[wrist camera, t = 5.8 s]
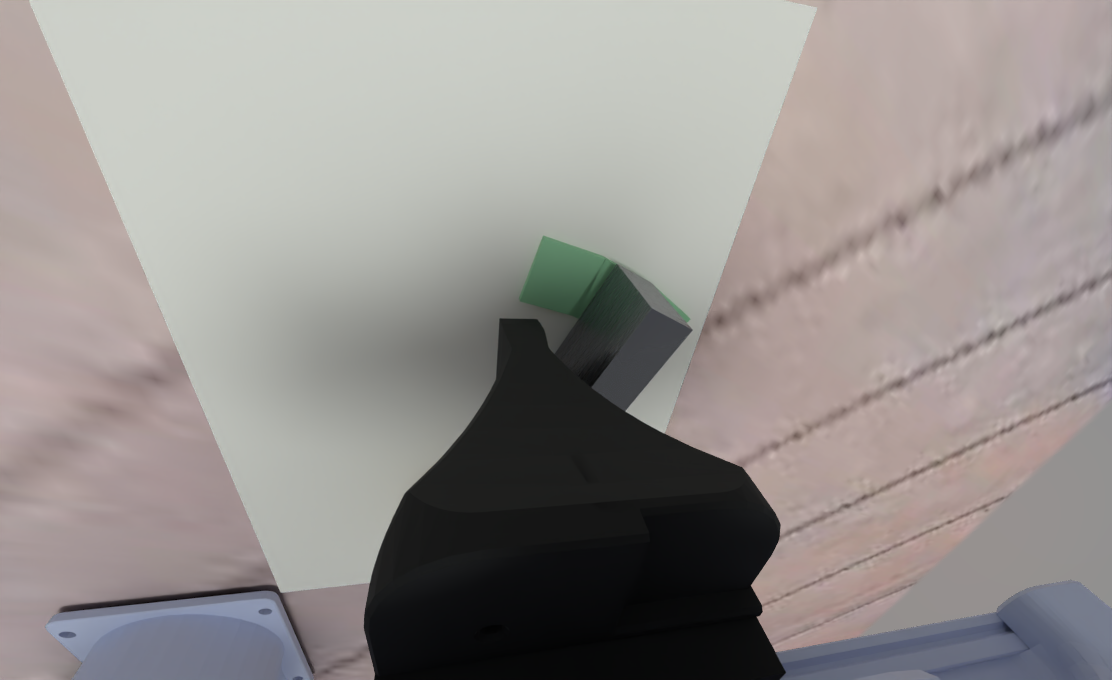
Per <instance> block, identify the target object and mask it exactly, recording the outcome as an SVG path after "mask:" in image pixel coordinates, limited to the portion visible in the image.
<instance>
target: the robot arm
mask: <svg viewBox="0 0 1112 680" xmlns="http://www.w3.org/2000/svg"><path fill="white" fill-rule="evenodd" d="M780 525H781V524H780V522H779V520H778V518H777V516H776V514H775V512H774V511H773V509H772V508H771V506H770V505H769V504H768V502H767V501H766V499H765V498H764V497H763V495H762V494H761V492H760V491H759V489H758V488H757V487H756V485H755V484H754V482H753V481H752V480H751V478H750V477H749V475H748V474H747V473H746V472H745V470H744V469H743V468H742V467H740V466H737V465H735V464H732V463H730V462H728V461H725V460H723V459H720V458H718V457H715V456H713V455H710V454H708V453H705V452H703V451H700V450H698V449H696V448H693V447H691V446H689V445H687V444H685V443H683V442H680V441H678V440H676V439H674V438H672V437H670V436H668V435H666V434H664V433H662V432H660V431H658V430H657V429H655V428H653V427H651V426H649V425H647V424H645V423H644V422H642V421H640V420H639V419H637V418H635V417H634V416H632V415H630V414H629V413H627V412H626V411H624V410H622V409H621V408H619V407H618V406H616V405H615V404H613V403H612V402H610V401H609V400H607V399H606V398H605V397H603V396H602V395H601V394H599V393H598V392H597V391H595V390H594V389H593V388H591V387H590V386H589V385H588V384H586V383H585V382H584V381H583V380H581V379H580V378H579V377H578V376H577V375H576V374H575V373H574V372H572V371H571V370H570V369H569V368H568V367H567V366H566V365H565V364H564V363H563V362H562V361H561V360H560V359H559V358H558V357H557V356H556V355H555V354H554V353H553V352H552V351H551V350H550V349H549V347H548V342H547V338H546V334H545V330H544V328H543V327H542V325H541V323H540V322H539V321H538V320H537V319H510V318H500V319H499V336H498V353H497V370H496V380H495V382H494V384H493V386H492V388H491V390H490V392H489V394H488V395H487V397H486V399H485V400H484V402H483V404H482V405H481V407H480V409H479V410H478V411H477V413H476V414H475V416H474V417H473V419H472V420H471V422H470V423H469V425H468V426H467V427H466V429H465V430H464V431H463V433H462V434H461V435H460V436H459V437H458V438H457V440H456V441H455V442H454V443H453V444H452V446H451V447H450V448H449V449H448V450H447V451H446V453H445V454H444V455H443V456H442V457H441V458H440V459H439V460H438V461H437V462H436V464H434V465H433V466H432V467H431V468H430V469H429V470H428V471H427V472H426V473H425V474H424V475H423V476H422V477H421V478H420V479H419V480H418V481H417V482H416V483H415V484H414V485H413V486H412V487H411V488H410V489H408V490H407V491H406V492H405V494H404V496H403V498H402V500H401V502H400V504H399V506H398V508H397V510H396V512H395V514H394V516H393V518H392V520H391V523H390V525H389V527H388V530H387V532H386V534H385V537H384V539H383V542H382V544H381V547H380V550H379V553H378V556H377V559H376V562H375V565H374V568H373V572H372V576H371V581H370V586H369V592H368V597H367V602H366V608H365V615H364V631H365V635H366V639H367V643H368V647H369V651H370V655H371V659H372V663H373V667H374V671H375V679H374V680H1112V609H1111V608H1110V607H1109V606H1108V605H1106V604H1105V603H1104V602H1103V601H1102V600H1100V599H1099V598H1098V597H1097V596H1096V595H1095V594H1093V593H1092V592H1091V591H1090V590H1089V589H1087V588H1086V587H1085V586H1084V585H1082V584H1081V583H1080V582H1078V581H1073V580H1068V581H1062V582H1056V583H1051V584H1044V585H1039V586H1034V587H1030V588H1027V589H1025V590H1023V591H1020V592H1018V593H1016V594H1015V595H1013V596H1012V597H1010V598H1009V599H1007V600H1006V601H1005V602H1003V603H1002V604H1001V605H1000V606H999V607H998V608H997V612H993V613H988V614H982V615H977V616H971V617H966V618H960V619H955V620H950V621H944V622H939V623H933V624H928V625H922V626H917V627H911V628H906V629H901V630H895V631H890V632H884V633H879V634H874V635H868V636H862V637H857V638H851V639H846V640H841V641H835V642H830V643H824V644H819V645H813V646H808V647H802V648H797V649H792V650H786V651H781V652H775V651H774V649H773V647H772V645H771V643H770V641H769V639H768V638H767V636H766V634H765V632H764V630H763V628H762V626H761V624H760V623H759V621H758V619H757V617H756V616H760V615H761V613H762V612H763V611H762V605H761V603H760V601H759V600H758V598H757V596H756V594H755V592H754V591H753V589H752V587H751V584H752V583H753V581H754V580H755V579H756V577H757V576H758V574H759V573H760V571H761V570H762V568H763V567H764V565H765V564H766V562H767V561H768V559H769V558H770V557H771V555H772V553H773V551H774V549H775V547H776V545H777V543H778V541H779V537H780ZM45 628H46V630H47V631H48V632H49V633H50V634H51V635H52V636H54V637H55V638H56V639H57V640H58V641H59V642H60V643H61V644H62V645H63V646H64V647H65V648H67V649H68V650H69V651H70V652H71V653H72V654H73V655H74V656H75V657H76V658H77V659H78V660H80V661H81V662H82V664H81V666H80V668H79V669H78V671H77V672H76V674H75V675H74V677H73V678H72V680H313V679H314V677H313V674H312V672H311V670H310V667H309V665H308V663H307V660H306V658H305V656H304V653H303V651H302V649H301V647H300V644H299V642H298V640H297V637H296V635H295V633H294V630H293V628H292V626H291V623H290V621H289V619H288V617H287V614H286V612H285V610H284V607H283V605H282V603H281V600H280V598H279V596H278V595H277V594H276V593H275V592H273V591H256V592H247V593H238V594H228V595H219V596H210V597H200V598H191V599H182V600H172V601H163V602H154V603H145V604H135V605H126V606H117V607H107V608H98V609H89V610H79V611H70V612H62V613H58V614H56V615H54V616H52V618H51V619H50V620H49V622H48V623H47V624H46V626H45Z"/></svg>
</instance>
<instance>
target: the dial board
mask: <svg viewBox="0 0 1112 680" xmlns="http://www.w3.org/2000/svg"><path fill="white" fill-rule="evenodd" d="M29 2H30V4H31V7H32V9H33V11H34V14H35V16H36V18H37V21H38V23H39V26H40V28H41V30H42V33H43V35H44V37H45V40H46V42H47V44H48V47H49V49H50V51H51V54H52V56H53V58H54V61H55V63H56V65H57V68H58V70H59V73H60V75H61V77H62V80H63V82H64V84H65V87H66V89H67V91H68V94H69V96H70V98H71V101H72V103H73V105H74V108H75V110H76V113H77V115H78V117H79V120H80V122H81V124H82V127H83V129H84V131H85V134H86V136H87V138H88V141H89V143H90V145H91V148H92V150H93V153H94V155H95V157H96V160H97V162H98V164H99V167H100V169H101V171H102V174H103V176H104V178H105V181H106V183H107V185H108V188H109V190H110V192H111V195H112V197H113V200H114V202H115V204H116V207H117V209H118V211H119V214H120V216H121V218H122V221H123V223H124V225H125V228H126V230H127V232H128V235H129V237H130V240H131V242H132V244H133V247H134V249H135V251H136V254H137V256H138V258H139V261H140V263H141V265H142V268H143V270H144V272H145V275H146V277H147V279H148V282H149V284H150V287H151V289H152V291H153V294H154V296H155V298H156V301H157V303H158V305H159V308H160V310H161V312H162V315H163V317H164V319H165V322H166V324H167V327H168V329H169V331H170V334H171V336H172V338H173V341H174V343H175V345H176V348H177V350H178V352H179V355H180V357H181V359H182V362H183V364H184V367H185V369H186V371H187V374H188V376H189V378H190V381H191V383H192V385H193V388H194V390H195V392H196V395H197V397H198V399H199V402H200V404H201V406H202V409H203V411H204V414H205V416H206V418H207V421H208V423H209V425H210V428H211V430H212V432H213V435H214V437H215V439H216V442H217V444H218V446H219V449H220V451H221V454H222V456H223V458H224V461H225V463H226V465H227V468H228V470H229V472H230V475H231V477H232V479H233V482H234V484H235V486H236V489H237V491H238V493H239V496H240V498H241V501H242V503H243V505H244V508H245V510H246V512H247V515H248V517H249V519H250V522H251V524H252V526H253V529H254V531H255V533H256V536H257V538H258V541H259V543H260V545H261V548H262V550H263V552H264V555H265V557H266V559H267V562H268V564H269V566H270V569H271V571H272V573H273V576H274V578H275V581H276V583H277V585H278V588H279V590H280V592H281V593H284V592H293V591H302V590H311V589H320V588H329V587H338V586H348V585H357V584H366V583H370V581H371V576H372V572H373V568H374V565H375V562H376V559H377V556H378V553H379V550H380V547H381V544H382V542H383V539H384V537H385V534H386V532H387V530H388V527H389V525H390V523H391V520H392V518H393V516H394V514H395V512H396V510H397V508H398V506H399V504H400V502H401V500H402V498H403V496H404V494H405V492H406V491H407V490H408V489H410V488H411V487H412V486H413V485H414V484H415V483H416V482H417V481H418V480H419V479H420V478H421V477H422V476H423V475H424V474H425V473H426V472H427V471H428V470H429V469H430V468H431V467H432V466H433V465H434V464H436V462H437V461H438V460H439V459H440V458H441V457H442V456H443V455H444V454H445V453H446V451H447V450H448V449H449V448H450V447H451V446H452V444H453V443H454V442H455V441H456V440H457V438H458V437H459V436H460V435H461V434H462V433H463V431H464V430H465V429H466V427H467V426H468V425H469V423H470V422H471V420H472V419H473V417H474V416H475V414H476V413H477V411H478V410H479V409H480V407H481V405H482V404H483V402H484V400H485V399H486V397H487V395H488V394H489V392H490V390H491V388H492V386H493V384H494V382H495V380H496V370H497V353H498V336H499V319H500V318H510V319H537V320H538V321H539V322H540V323H541V325H542V327H543V328H544V330H545V334H546V338H547V342H548V347H549V349H550V350H551V351H552V352H553V353H554V354H555V353H556V351H557V350H558V348H559V347H560V345H561V344H562V342H563V341H564V340H565V338H566V337H567V335H568V334H569V332H570V331H571V329H572V328H573V326H574V325H575V324H576V322H577V321H578V319H579V318H580V316H581V315H582V313H583V312H584V310H585V309H586V308H587V306H588V305H589V303H590V302H591V300H592V299H593V297H594V296H595V294H596V293H597V292H598V290H599V289H600V287H601V286H602V284H603V283H604V281H605V280H606V278H607V277H608V276H609V274H610V273H611V271H612V270H613V268H614V267H615V265H616V264H619V265H621V266H622V267H624V268H626V269H628V270H630V271H631V272H633V273H635V274H637V275H638V276H640V277H642V278H644V279H646V280H647V281H649V282H651V283H652V284H653V285H654V286H655V287H656V288H657V289H658V290H659V292H660V293H661V294H662V295H663V296H664V297H665V298H666V300H667V301H668V302H669V303H670V304H671V305H672V307H673V308H674V309H675V310H676V311H677V312H678V313H679V315H680V316H681V317H682V318H683V319H684V320H685V321H686V323H687V324H688V325H689V326H690V327H691V328H692V329H693V331H692V332H691V333H690V334H689V335H688V337H687V338H686V339H685V340H684V341H683V343H682V344H681V345H680V346H679V347H678V348H677V350H676V351H675V352H674V353H673V354H672V356H671V357H670V358H669V359H668V360H667V362H666V363H665V364H664V365H663V366H662V368H661V369H660V370H659V371H658V372H657V374H656V375H655V376H654V377H653V378H652V380H651V381H650V382H649V383H648V384H647V386H646V387H645V388H644V389H643V390H642V392H641V393H640V394H639V395H638V396H637V398H636V399H635V400H634V401H633V402H632V404H631V405H630V406H629V407H628V408H627V410H626V412H627V413H629V414H630V415H632V416H634V417H635V418H637V419H639V420H640V421H642V422H644V423H645V424H647V425H649V426H651V427H653V428H655V429H657V430H658V431H660V432H662V433H664V434H665V431H666V428H667V426H668V423H669V420H670V417H671V414H672V412H673V409H674V406H675V403H676V401H677V398H678V395H679V392H680V389H681V387H682V384H683V381H684V378H685V375H686V373H687V370H688V367H689V364H690V361H691V359H692V356H693V353H694V350H695V348H696V345H697V342H698V339H699V336H700V334H701V331H702V328H703V325H704V322H705V320H706V317H707V314H708V311H709V309H710V306H711V303H712V300H713V297H714V295H715V292H716V289H717V286H718V283H719V281H720V278H721V275H722V272H723V270H724V267H725V264H726V261H727V258H728V256H729V253H730V250H731V247H732V244H733V242H734V239H735V236H736V233H737V230H738V228H739V225H740V222H741V219H742V217H743V214H744V211H745V208H746V205H747V203H748V200H749V197H750V194H751V191H752V189H753V186H754V183H755V180H756V178H757V175H758V172H759V169H760V166H761V164H762V161H763V158H764V155H765V152H766V150H767V147H768V144H769V141H770V138H771V136H772V133H773V130H774V127H775V125H776V122H777V119H778V116H779V113H780V111H781V108H782V105H783V102H784V99H785V97H786V94H787V91H788V88H789V86H790V83H791V80H792V77H793V74H794V72H795V69H796V66H797V63H798V60H799V58H800V55H801V52H802V49H803V47H804V44H805V41H806V38H807V35H808V33H809V30H810V27H811V24H812V21H813V19H814V16H815V13H816V10H817V7H812V6H808V5H803V4H798V3H794V2H789V1H785V0H29Z"/></svg>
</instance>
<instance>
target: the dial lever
mask: <svg viewBox="0 0 1112 680" xmlns="http://www.w3.org/2000/svg"><path fill="white" fill-rule="evenodd" d="M692 331H693V329H692V328H691V327H690V326H689V325H688V324H687V323H686V321H685V320H684V319H683V318H682V317H681V316H680V315H679V313H678V312H677V311H676V310H675V309H674V308H673V307H672V305H671V304H670V303H669V302H668V301H667V300H666V298H665V297H664V296H663V295H662V294H661V293H660V292H659V290H658V289H657V288H656V287H655V286H654V285H653V284H652V283H651V282H649V281H647V280H646V279H644V278H642V277H640V276H638V275H637V274H635V273H633V272H631V271H630V270H628V269H626V268H624V267H622V266H621V265H619V264H616V265H615V267H614V268H613V270H612V271H611V273H610V274H609V276H608V277H607V278H606V280H605V281H604V283H603V284H602V286H601V287H600V289H599V290H598V292H597V293H596V294H595V296H594V297H593V299H592V300H591V302H590V303H589V305H588V306H587V308H586V309H585V310H584V312H583V313H582V315H581V316H580V318H579V319H578V321H577V322H576V324H575V325H574V326H573V328H572V329H571V331H570V332H569V334H568V335H567V337H566V338H565V340H564V341H563V342H562V344H561V345H560V347H559V348H558V350H557V351H556V353H555V355H556V356H557V357H558V358H559V359H560V360H561V361H562V362H563V363H564V364H565V365H566V366H567V367H568V368H569V369H570V370H571V371H572V372H574V373H575V374H576V375H577V376H578V377H579V378H580V379H581V380H583V381H584V382H585V383H586V384H588V385H589V386H590V387H591V388H593V389H594V390H595V391H597V392H598V393H599V394H601V395H602V396H603V397H605V398H606V399H607V400H609V401H610V402H612V403H613V404H615V405H616V406H618V407H619V408H621V409H622V410H624V411H626V410H627V408H628V407H629V406H630V405H631V404H632V402H633V401H634V400H635V399H636V398H637V396H638V395H639V394H640V393H641V392H642V390H643V389H644V388H645V387H646V386H647V384H648V383H649V382H650V381H651V380H652V378H653V377H654V376H655V375H656V374H657V372H658V371H659V370H660V369H661V368H662V366H663V365H664V364H665V363H666V362H667V360H668V359H669V358H670V357H671V356H672V354H673V353H674V352H675V351H676V350H677V348H678V347H679V346H680V345H681V344H682V343H683V341H684V340H685V339H686V338H687V337H688V335H689V334H690V333H691V332H692Z"/></svg>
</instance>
